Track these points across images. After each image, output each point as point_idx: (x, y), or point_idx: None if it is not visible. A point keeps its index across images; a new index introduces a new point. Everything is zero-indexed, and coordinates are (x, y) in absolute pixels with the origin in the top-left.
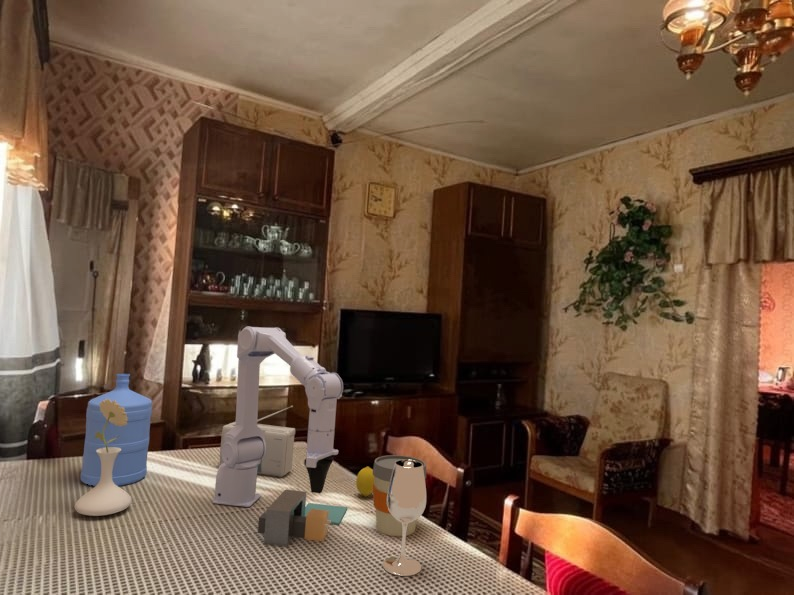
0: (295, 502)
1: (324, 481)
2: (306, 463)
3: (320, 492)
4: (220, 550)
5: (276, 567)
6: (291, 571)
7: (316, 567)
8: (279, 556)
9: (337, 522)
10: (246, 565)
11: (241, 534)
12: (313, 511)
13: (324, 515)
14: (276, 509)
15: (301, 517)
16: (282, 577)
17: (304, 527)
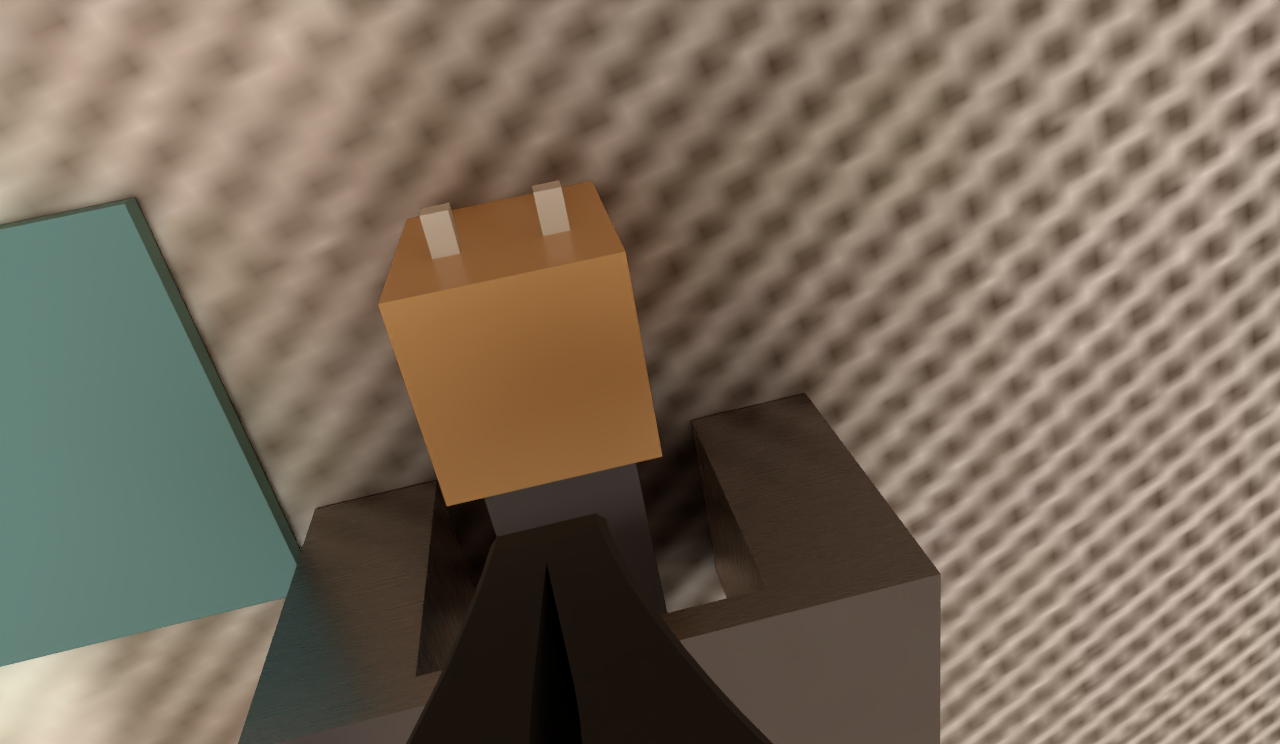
0: None
1: (521, 643)
2: None
3: (606, 521)
4: (971, 676)
5: (1123, 293)
6: (1166, 166)
7: (1082, 3)
8: (966, 359)
9: (126, 225)
10: (1121, 466)
11: None
12: (509, 449)
13: (559, 282)
14: (910, 698)
15: (524, 515)
16: (1253, 182)
17: None
